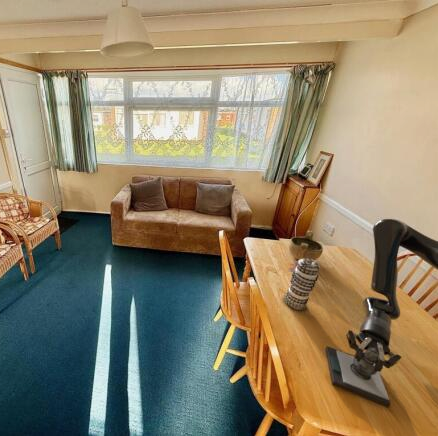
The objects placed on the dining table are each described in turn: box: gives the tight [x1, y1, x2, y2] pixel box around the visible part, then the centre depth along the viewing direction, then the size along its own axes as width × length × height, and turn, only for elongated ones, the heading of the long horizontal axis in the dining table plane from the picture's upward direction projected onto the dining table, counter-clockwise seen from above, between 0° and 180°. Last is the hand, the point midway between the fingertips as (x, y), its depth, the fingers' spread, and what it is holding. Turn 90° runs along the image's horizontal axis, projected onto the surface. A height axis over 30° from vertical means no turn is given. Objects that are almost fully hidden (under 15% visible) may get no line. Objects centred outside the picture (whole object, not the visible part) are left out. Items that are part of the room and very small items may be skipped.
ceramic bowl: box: [288, 230, 324, 261], centre depth 138 cm, size 22×17×15 cm
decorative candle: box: [284, 258, 321, 311], centre depth 102 cm, size 9×9×25 cm
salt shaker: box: [350, 348, 379, 380], centre depth 74 cm, size 6×6×12 cm
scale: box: [324, 346, 392, 409], centre depth 77 cm, size 14×14×4 cm
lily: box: [287, 258, 298, 273], centre depth 125 cm, size 12×12×10 cm
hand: (367, 364), depth 72 cm, fingers closed on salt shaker, 3 cm apart
